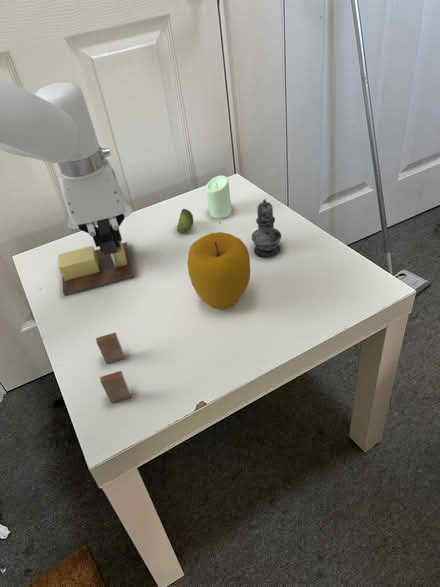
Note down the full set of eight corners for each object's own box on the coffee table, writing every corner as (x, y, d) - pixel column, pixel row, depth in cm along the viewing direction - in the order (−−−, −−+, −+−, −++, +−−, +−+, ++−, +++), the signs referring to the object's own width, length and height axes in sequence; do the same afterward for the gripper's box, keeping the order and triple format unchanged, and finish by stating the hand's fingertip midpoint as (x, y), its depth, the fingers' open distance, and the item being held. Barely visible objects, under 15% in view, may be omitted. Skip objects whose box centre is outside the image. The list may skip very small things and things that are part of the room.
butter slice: (117, 267, 93) (113, 253, 90) (115, 254, 96) (110, 240, 93) (127, 264, 93) (123, 251, 90) (124, 251, 96) (120, 238, 94)
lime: (180, 238, 99) (176, 219, 95) (172, 227, 102) (167, 208, 99) (198, 231, 100) (195, 212, 96) (190, 220, 103) (186, 201, 100)
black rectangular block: (111, 276, 90) (100, 244, 85) (107, 247, 97) (95, 215, 92) (123, 273, 91) (112, 240, 85) (118, 244, 98) (107, 212, 92)
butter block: (65, 281, 91) (58, 267, 89) (64, 267, 94) (58, 254, 92) (99, 272, 92) (94, 258, 90) (97, 258, 95) (92, 245, 93)
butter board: (64, 295, 90) (62, 292, 89) (63, 262, 97) (61, 258, 97) (134, 277, 91) (133, 273, 91) (127, 245, 99) (126, 242, 98)
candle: (216, 221, 102) (211, 189, 96) (206, 211, 105) (201, 179, 100) (235, 213, 103) (232, 181, 98) (225, 203, 107) (221, 172, 101)
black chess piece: (247, 247, 94) (243, 197, 86) (272, 237, 95) (270, 187, 87) (261, 263, 90) (257, 212, 82) (287, 252, 91) (286, 201, 83)
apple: (265, 303, 82) (261, 247, 73) (211, 329, 79) (201, 273, 70) (234, 270, 89) (228, 215, 80) (185, 292, 86) (172, 238, 77)
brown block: (111, 403, 70) (100, 382, 66) (105, 359, 77) (95, 337, 73) (131, 397, 71) (122, 375, 67) (124, 354, 77) (115, 332, 73)
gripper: (124, 141, 82) (146, 225, 95) (34, 162, 80) (69, 245, 93) (129, 160, 77) (152, 246, 90) (33, 182, 75) (70, 267, 88)
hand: (110, 245), depth 91 cm, fingers closed on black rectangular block, 2 cm apart
